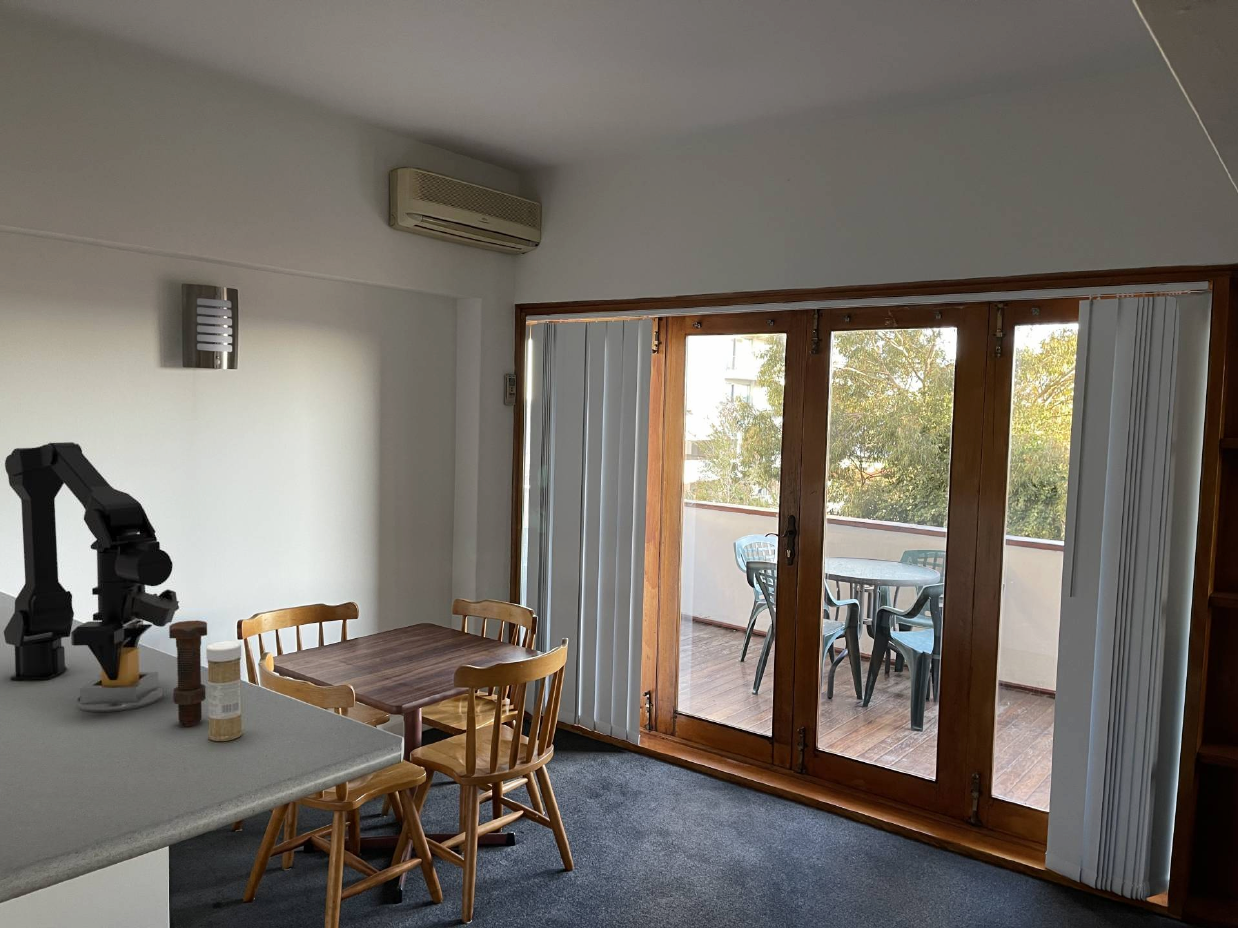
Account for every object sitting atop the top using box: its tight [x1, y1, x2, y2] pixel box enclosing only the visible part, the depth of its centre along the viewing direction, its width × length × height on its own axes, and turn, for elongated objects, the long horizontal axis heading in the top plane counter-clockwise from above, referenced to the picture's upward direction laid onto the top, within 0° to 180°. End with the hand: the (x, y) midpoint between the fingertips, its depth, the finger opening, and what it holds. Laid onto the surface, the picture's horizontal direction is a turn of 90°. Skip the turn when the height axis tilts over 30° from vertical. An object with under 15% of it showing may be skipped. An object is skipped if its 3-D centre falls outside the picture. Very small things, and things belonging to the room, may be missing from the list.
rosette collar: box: [76, 671, 163, 713], centre depth 148 cm, size 12×12×3 cm
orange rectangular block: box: [101, 646, 140, 686], centre depth 148 cm, size 4×4×6 cm
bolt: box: [168, 620, 208, 728], centre depth 137 cm, size 6×5×15 cm
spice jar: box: [206, 640, 243, 742], centre depth 132 cm, size 5×5×13 cm
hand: (120, 675), depth 148 cm, fingers open, 4 cm apart
